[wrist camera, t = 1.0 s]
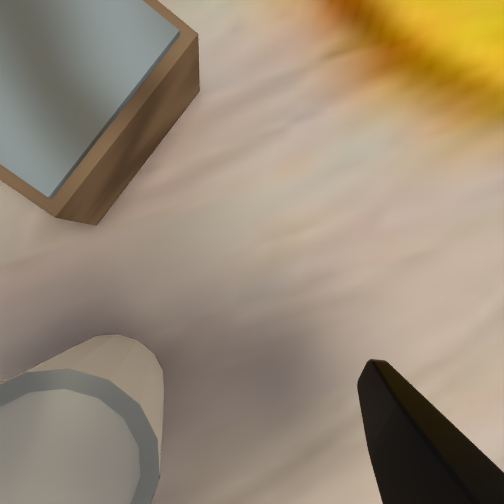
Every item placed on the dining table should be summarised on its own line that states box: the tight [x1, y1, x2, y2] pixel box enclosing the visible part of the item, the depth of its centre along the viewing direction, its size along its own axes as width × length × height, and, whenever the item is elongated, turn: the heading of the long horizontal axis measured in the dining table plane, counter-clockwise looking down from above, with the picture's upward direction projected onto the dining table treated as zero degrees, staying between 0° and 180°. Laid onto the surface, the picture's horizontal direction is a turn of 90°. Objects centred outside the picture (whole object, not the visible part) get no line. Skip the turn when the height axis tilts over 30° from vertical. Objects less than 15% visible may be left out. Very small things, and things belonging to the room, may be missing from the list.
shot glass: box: [0, 334, 164, 504], centre depth 15 cm, size 7×7×7 cm
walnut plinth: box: [0, 0, 200, 225], centre depth 15 cm, size 9×9×5 cm
